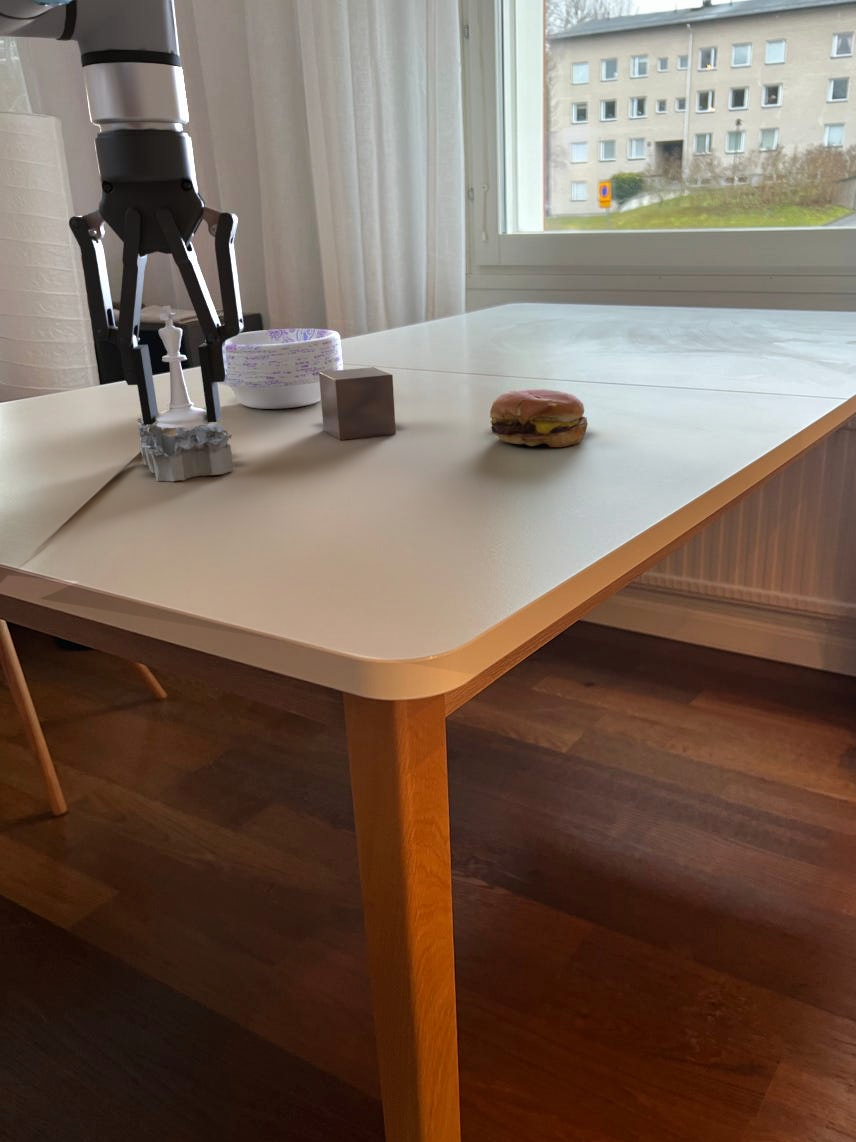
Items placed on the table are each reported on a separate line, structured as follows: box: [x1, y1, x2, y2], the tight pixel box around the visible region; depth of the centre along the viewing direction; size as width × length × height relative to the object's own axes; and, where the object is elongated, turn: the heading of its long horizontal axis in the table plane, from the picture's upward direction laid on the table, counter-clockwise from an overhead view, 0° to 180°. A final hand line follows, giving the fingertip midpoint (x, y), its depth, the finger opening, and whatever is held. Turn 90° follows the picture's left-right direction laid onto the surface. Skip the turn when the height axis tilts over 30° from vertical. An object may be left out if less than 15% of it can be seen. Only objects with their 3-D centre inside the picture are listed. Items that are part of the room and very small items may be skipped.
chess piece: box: [154, 305, 210, 429], centre depth 87 cm, size 5×5×10 cm
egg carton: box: [136, 417, 235, 483], centre depth 90 cm, size 11×8×4 cm
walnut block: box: [319, 366, 397, 441], centre depth 102 cm, size 6×6×6 cm
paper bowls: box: [217, 328, 344, 410], centre depth 119 cm, size 15×15×8 cm
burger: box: [489, 388, 588, 448], centre depth 97 cm, size 10×9×5 cm
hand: (183, 419), depth 89 cm, fingers closed on chess piece, 5 cm apart
